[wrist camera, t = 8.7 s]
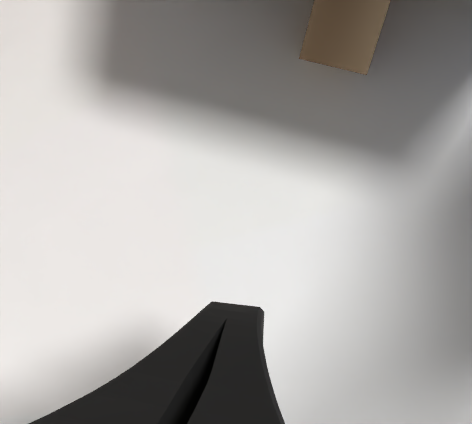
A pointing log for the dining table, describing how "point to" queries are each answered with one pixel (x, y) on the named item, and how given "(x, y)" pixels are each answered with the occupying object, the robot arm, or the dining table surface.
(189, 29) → the dining table surface
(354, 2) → the tan t-shaped block
